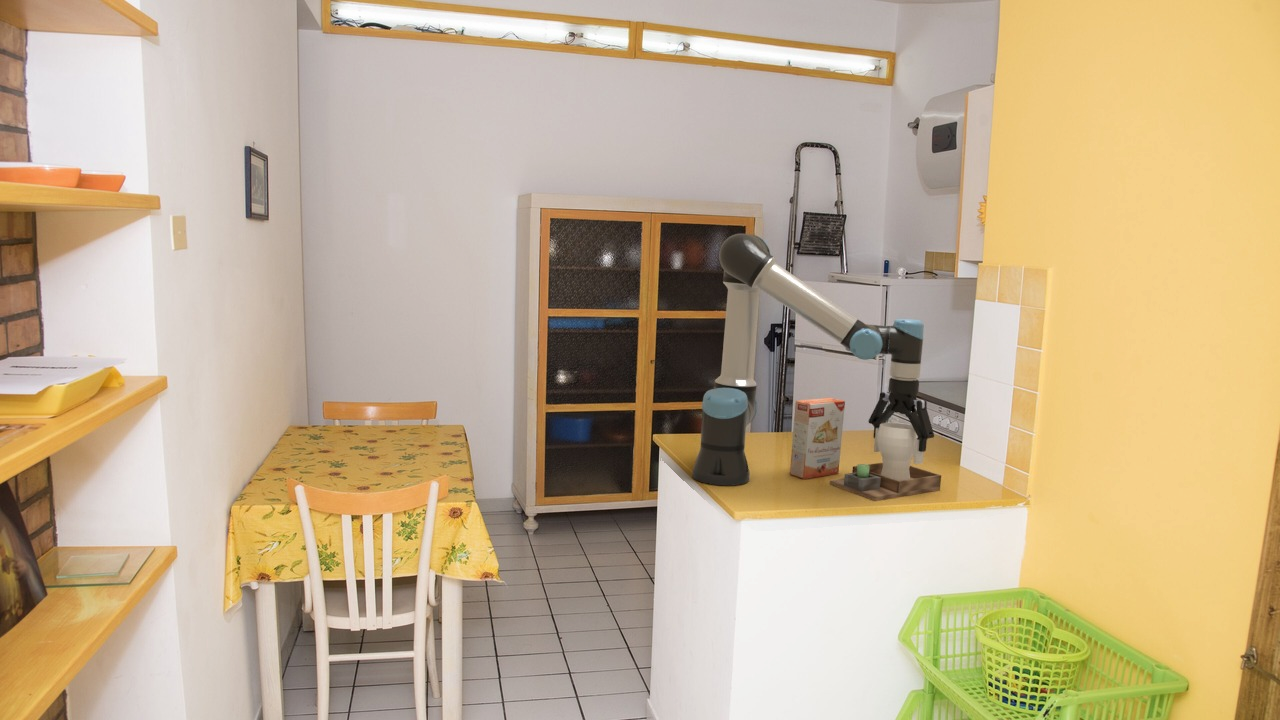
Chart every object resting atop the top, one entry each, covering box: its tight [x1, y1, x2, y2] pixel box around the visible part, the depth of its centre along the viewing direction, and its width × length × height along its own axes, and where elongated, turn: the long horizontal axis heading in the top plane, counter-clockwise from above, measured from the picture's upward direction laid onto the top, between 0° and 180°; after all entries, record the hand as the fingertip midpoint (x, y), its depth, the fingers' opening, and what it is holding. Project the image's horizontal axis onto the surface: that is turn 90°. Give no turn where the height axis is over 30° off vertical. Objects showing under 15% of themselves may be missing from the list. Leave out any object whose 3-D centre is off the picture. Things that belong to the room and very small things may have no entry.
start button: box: [856, 463, 869, 478], centre depth 219 cm, size 3×3×4 cm
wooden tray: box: [829, 462, 942, 502], centre depth 224 cm, size 24×16×4 cm, turn 121°
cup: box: [877, 422, 918, 481], centre depth 225 cm, size 11×11×15 cm
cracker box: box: [789, 397, 846, 480], centre depth 232 cm, size 14×6×21 cm, turn 125°
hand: (897, 457), depth 225 cm, fingers open, 13 cm apart
